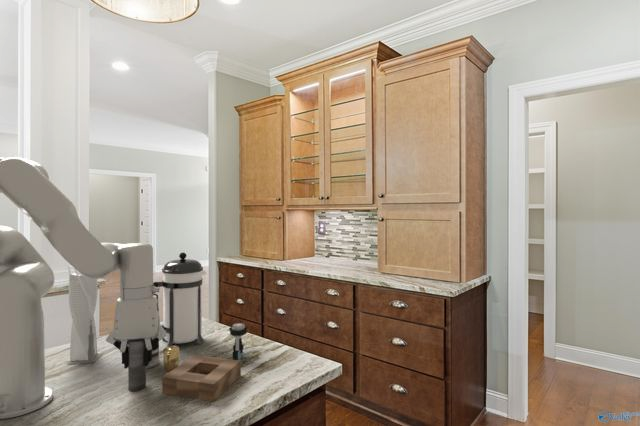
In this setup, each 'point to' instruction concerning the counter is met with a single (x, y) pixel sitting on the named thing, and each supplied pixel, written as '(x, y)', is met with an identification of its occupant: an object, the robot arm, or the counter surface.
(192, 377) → the hole block
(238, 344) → the push button
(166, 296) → the coffee press
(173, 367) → the gold rounded upright piece
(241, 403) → the counter surface
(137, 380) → the tall pin
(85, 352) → the skyscraper
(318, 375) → the counter surface
